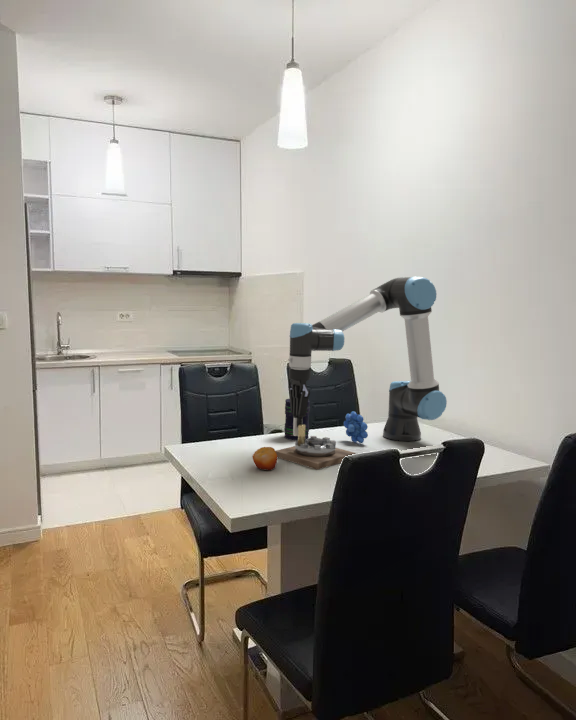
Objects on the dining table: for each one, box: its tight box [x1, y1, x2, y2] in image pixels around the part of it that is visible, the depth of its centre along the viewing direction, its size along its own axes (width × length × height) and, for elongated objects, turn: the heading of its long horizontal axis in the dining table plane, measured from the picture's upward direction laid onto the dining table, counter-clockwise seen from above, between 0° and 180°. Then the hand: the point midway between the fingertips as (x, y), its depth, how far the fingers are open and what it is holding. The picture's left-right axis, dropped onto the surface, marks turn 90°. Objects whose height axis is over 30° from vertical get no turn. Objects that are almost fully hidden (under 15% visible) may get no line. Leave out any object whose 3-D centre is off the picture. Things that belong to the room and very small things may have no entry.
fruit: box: [251, 446, 278, 471], centre depth 183 cm, size 8×8×8 cm
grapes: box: [343, 410, 369, 444], centre depth 219 cm, size 12×7×12 cm, turn 44°
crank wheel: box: [294, 424, 337, 457], centre depth 196 cm, size 14×14×10 cm
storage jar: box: [283, 398, 311, 441], centre depth 224 cm, size 10×10×15 cm
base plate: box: [275, 445, 356, 471], centre depth 197 cm, size 20×20×2 cm
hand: (297, 435), depth 197 cm, fingers closed
